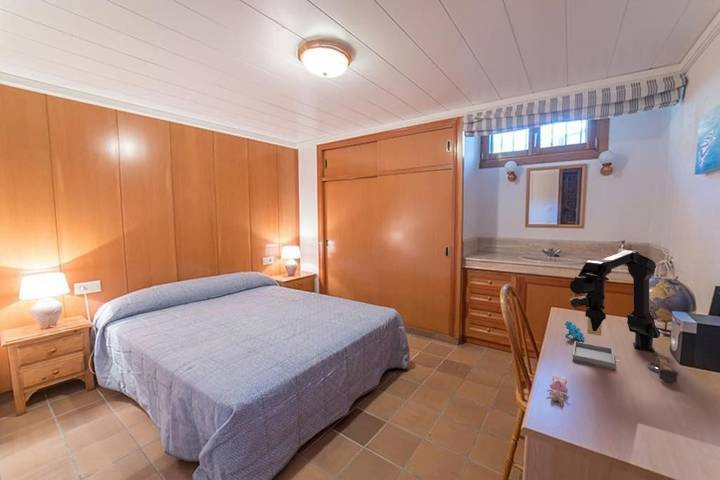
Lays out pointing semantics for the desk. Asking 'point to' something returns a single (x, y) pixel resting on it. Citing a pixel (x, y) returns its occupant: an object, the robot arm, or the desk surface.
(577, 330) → the blue branched piece
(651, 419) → the desk surface
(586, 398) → the desk surface
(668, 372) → the crank lever
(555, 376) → the rabbit figure
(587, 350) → the stop tray
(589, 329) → the stop block
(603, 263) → the robot arm
